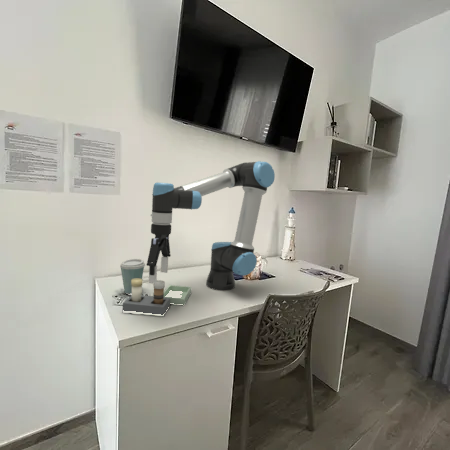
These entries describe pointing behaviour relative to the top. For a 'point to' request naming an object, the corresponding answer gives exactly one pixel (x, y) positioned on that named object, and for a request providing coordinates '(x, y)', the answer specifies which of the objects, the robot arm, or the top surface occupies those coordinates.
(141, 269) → the disposable coffee cup
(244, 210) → the robot arm
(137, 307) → the grey rectangular block
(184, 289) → the parts tray
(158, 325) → the top surface
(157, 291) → the cylinder
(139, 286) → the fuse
